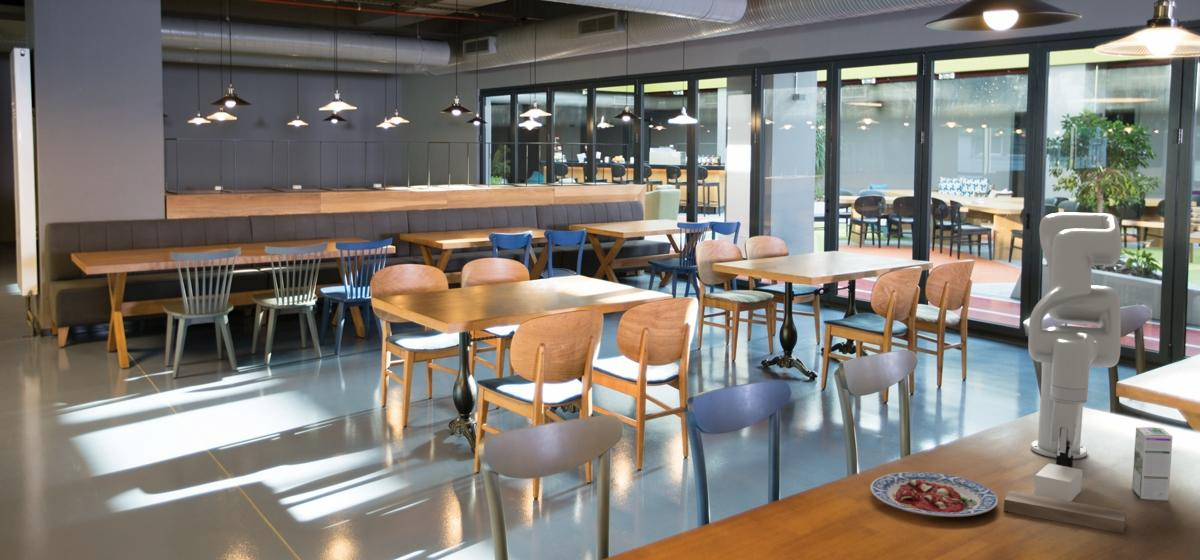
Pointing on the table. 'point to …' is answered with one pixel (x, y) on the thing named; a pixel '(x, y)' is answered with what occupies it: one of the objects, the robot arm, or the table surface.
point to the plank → (1066, 511)
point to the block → (1058, 482)
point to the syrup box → (1152, 463)
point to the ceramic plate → (934, 494)
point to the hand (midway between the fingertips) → (1063, 472)
